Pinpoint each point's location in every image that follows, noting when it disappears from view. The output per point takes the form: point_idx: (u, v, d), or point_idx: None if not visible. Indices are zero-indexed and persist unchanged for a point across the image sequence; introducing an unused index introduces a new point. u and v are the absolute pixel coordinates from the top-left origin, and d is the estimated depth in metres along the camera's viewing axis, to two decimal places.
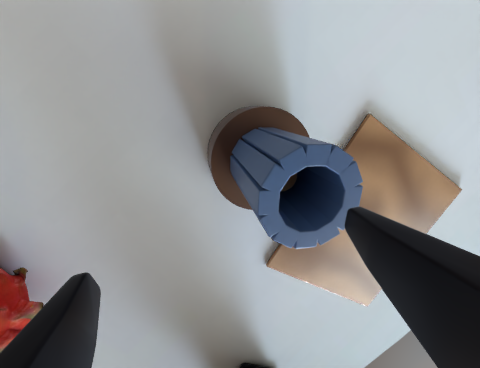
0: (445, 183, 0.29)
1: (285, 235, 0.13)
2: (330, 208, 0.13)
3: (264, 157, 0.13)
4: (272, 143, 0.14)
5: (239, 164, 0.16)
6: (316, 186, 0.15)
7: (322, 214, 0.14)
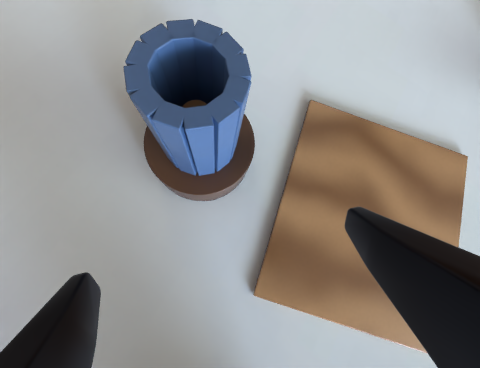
0: (440, 152, 0.25)
1: (166, 112, 0.10)
2: None
3: None
4: None
5: None
6: None
7: None
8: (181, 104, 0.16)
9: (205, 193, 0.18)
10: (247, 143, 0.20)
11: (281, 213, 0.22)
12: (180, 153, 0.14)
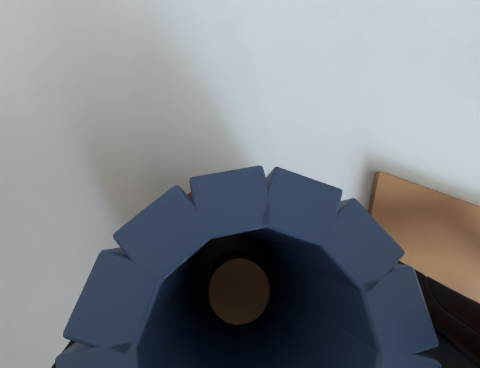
0: None
1: None
2: (350, 363, 0.04)
3: None
4: None
5: None
6: (308, 296, 0.06)
7: None
8: None
9: None
10: None
11: None
12: None
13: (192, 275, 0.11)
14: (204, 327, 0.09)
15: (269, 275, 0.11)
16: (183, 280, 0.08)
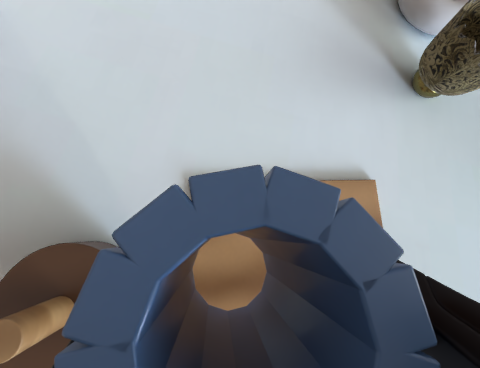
0: (346, 186, 0.23)
1: None
2: (349, 362, 0.04)
3: None
4: None
5: None
6: (307, 296, 0.06)
7: None
8: None
9: None
10: None
11: None
12: None
13: (192, 275, 0.11)
14: (204, 326, 0.09)
15: (269, 275, 0.11)
16: (182, 280, 0.08)
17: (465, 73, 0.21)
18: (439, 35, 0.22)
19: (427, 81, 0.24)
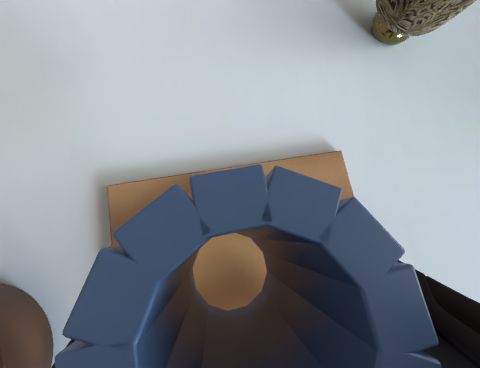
0: (307, 164, 0.18)
1: None
2: (350, 362, 0.04)
3: None
4: None
5: None
6: (308, 295, 0.06)
7: None
8: None
9: None
10: None
11: None
12: None
13: (192, 274, 0.11)
14: (204, 326, 0.09)
15: (269, 275, 0.11)
16: (183, 279, 0.08)
17: None
18: None
19: (388, 21, 0.19)
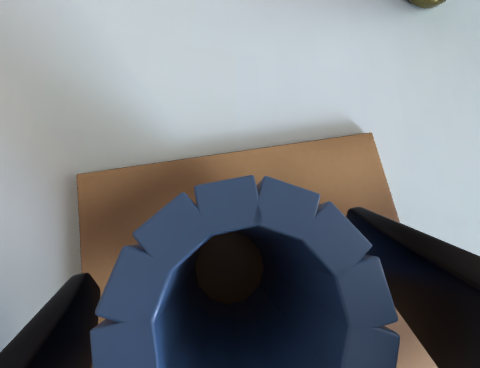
0: (330, 148, 0.15)
1: None
2: (328, 338, 0.05)
3: None
4: None
5: None
6: (298, 286, 0.07)
7: (317, 360, 0.05)
8: None
9: None
10: None
11: None
12: None
13: (194, 271, 0.12)
14: (206, 317, 0.09)
15: (266, 270, 0.12)
16: (187, 274, 0.09)
17: None
18: None
19: None
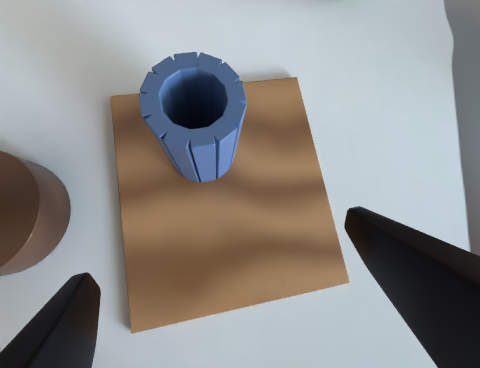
0: (268, 86, 0.23)
1: (175, 133, 0.12)
2: None
3: None
4: None
5: None
6: None
7: None
8: (185, 119, 0.18)
9: None
10: (27, 185, 0.16)
11: (126, 232, 0.19)
12: (185, 165, 0.16)
13: None
14: None
15: None
16: None
17: None
18: None
19: None
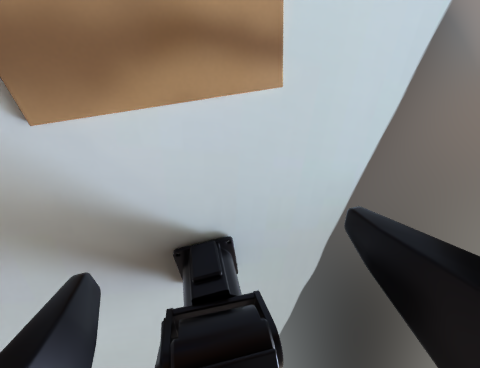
0: None
1: None
2: None
3: None
4: None
5: None
6: None
7: None
8: None
9: None
10: None
11: None
12: None
13: None
14: None
15: None
16: None
17: None
18: None
19: None
